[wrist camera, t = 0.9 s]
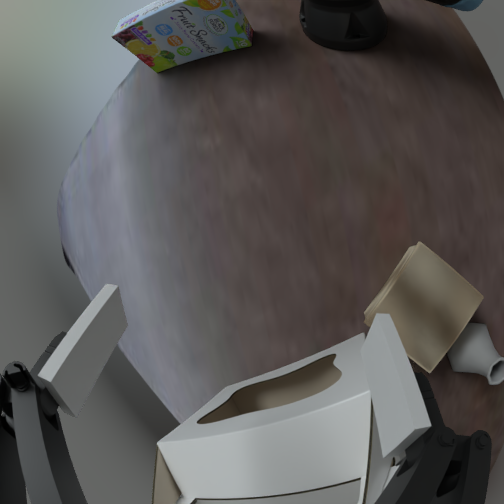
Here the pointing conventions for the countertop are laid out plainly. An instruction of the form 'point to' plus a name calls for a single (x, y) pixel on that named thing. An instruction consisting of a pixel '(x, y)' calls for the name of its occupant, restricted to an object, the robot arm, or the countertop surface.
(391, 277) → the beech box
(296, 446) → the gable box
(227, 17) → the snack box
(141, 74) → the countertop surface
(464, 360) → the flask
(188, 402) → the countertop surface
